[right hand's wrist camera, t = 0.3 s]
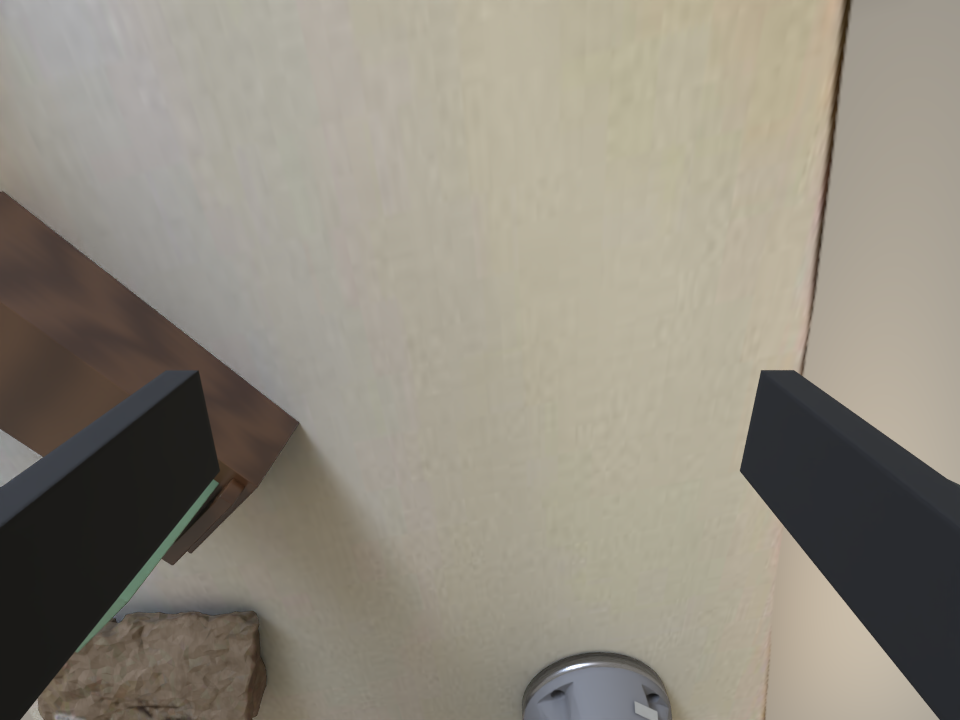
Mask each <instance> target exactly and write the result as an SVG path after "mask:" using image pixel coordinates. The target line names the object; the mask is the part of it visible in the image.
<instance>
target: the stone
mask: <svg viewBox="0 0 960 720" xmlns="http://www.w3.org/2000/svg"><path fill="white" fill-rule="evenodd" d="M258 627H259V621H258V617H257V615H256V613H255V612H254V611H246V612H236V611H235V612H233V613H230V614H221V615H215V616H210V615H207V614H202V613H200V612H187V613H183V612H181V613H178V614H164V613H161V612H157V613H143V612H136V613H134V614H127V615H126V616H125V617H124V619H123V620H122V621H121V622H120V623H117V622H116V619H114V618H112V619H111V620H110V621H109V622H108V623H107V624H106V625H105V626H104V627H103V628H102V629H101V630H100V631H99V632H98V633H97V634H96V635H95V636H94V637H93V638H92V639H91V640H90V641H89V642H88V643H87V644H86V645H85V646H84V647H83V648H82V649H81V650H80V651H79V652H78V653H77V652H74V653H73V655H72V656H71V657H70V658H69V660H68V661H67V662H66V663H65V665H64V666H63V667H62V668H61V670H60V671H59V672H58V673H57V675H56V676H55V677H54V678H53V680H52V681H51V682H50V683H49V685H48V686H47V687H46V688H45V690H44V691H43V692H42V693H41V695H40V696H39V697H38V710H39V712H40V715H41V716H42V718H43V719H44V720H252V718H253V717H255V716H257V714H258V711H259V708H260V703H261V699H262V696H263V693H264V689H265V687H266V678H267V676H266V669H265V666H264V663H263V661H262V660H261V657H260V643H259V632H258Z"/></svg>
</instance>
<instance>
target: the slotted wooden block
mask: <svg viewBox="0 0 960 720" xmlns="http://www.w3.org/2000/svg"><path fill="white" fill-rule="evenodd" d="M166 370H199V374H200V379H201V383H202V388H203V393H204V397H205V402H206V407H207V412H208V416H209V421H210V426H211V430H212V435H213V440H214V445H215V449H216V454H217V459H218V463H219V468H220V472H219V473H218V474H217V475H216V477H215V478H214V480H215V481H217V482H218V483H219V485H218V486H217V487H216V488H215V490H214V491H213V492H212V494H211V495H210V496H209V498H208V499H207V500H206V501H205V503H204V504H203V505H202V507H201V508H200V509H199V511H198V512H197V513H196V514H195V516H194V517H193V518H192V520H191V521H190V522H189V524H188V525H187V526H186V527H185V529H184V530H183V531H182V533H181V534H180V535H179V537H178V538H177V539H176V540H175V542H174V543H173V544H172V546H171V547H170V548H169V550H168V551H167V552H166V553H165V555H164V556H163V557H162V559H163V560H165V561H166V562H168V563H169V564H171V565H174V564H175V563H176V562H177V561H178V560H179V559H180V558H181V557H182V556H183V555H184V554H185V553H186V552H187V551H188V552H189V553H192V552H193V551H194V550H195V549H196V548H197V547H198V546H199V545H200V544H201V543H202V542H203V541H204V540H205V539H206V538H207V537H208V536H209V535H210V534H211V533H212V532H213V531H214V530H215V529H216V528H217V527H218V526H219V525H220V524H221V523H222V522H223V521H224V520H225V519H226V518H227V517H228V516H229V515H230V514H231V513H232V512H233V511H234V510H235V509H236V508H237V507H238V506H239V505H240V504H241V503H242V502H243V501H244V500H245V499H246V498H247V497H248V496H249V495H250V494H251V493H252V492H253V491H254V490H255V489H256V488H257V487H258V486H259V484H260V483H261V481H262V480H263V478H264V477H265V475H266V474H267V472H268V470H269V469H270V467H271V466H272V464H273V463H274V461H275V460H276V458H277V457H278V455H279V454H280V452H281V450H282V449H283V447H284V446H285V444H286V443H287V441H288V440H289V438H290V437H291V435H292V433H293V432H294V430H295V429H296V427H297V426H298V424H299V422H298V421H296V420H295V419H294V418H292V417H291V416H290V415H289V414H287V413H286V412H285V411H283V410H282V409H281V408H280V407H278V406H277V405H276V404H275V403H273V402H272V401H271V400H269V399H268V398H267V397H266V396H264V395H263V394H262V393H260V392H259V391H258V390H257V389H255V388H254V387H253V386H251V385H250V384H249V383H248V382H246V381H245V380H244V379H242V378H241V377H240V376H239V375H237V374H236V373H235V372H234V371H232V370H231V369H230V368H228V367H227V366H226V365H225V364H223V363H222V362H221V361H219V360H218V359H217V358H216V357H214V356H213V355H212V354H210V353H209V352H208V351H207V350H205V349H204V348H203V347H202V346H200V345H199V344H198V343H196V342H195V341H194V340H193V339H191V338H190V337H189V336H187V335H186V334H185V333H184V332H182V331H181V330H180V329H178V328H177V327H176V326H175V325H173V324H172V323H171V322H169V321H168V320H167V319H166V318H164V317H163V316H162V315H161V314H159V313H158V312H157V311H155V310H154V309H153V308H152V307H150V306H149V305H148V304H146V303H145V302H144V301H143V300H141V299H140V298H139V297H137V296H136V295H135V294H134V293H132V292H131V291H130V290H128V289H127V288H126V287H125V286H123V285H122V284H121V283H120V282H118V281H117V280H116V279H114V278H113V277H112V276H111V275H109V274H108V273H107V272H105V271H104V270H103V269H102V268H100V267H99V266H98V265H96V264H95V263H94V262H93V261H91V260H90V259H89V258H87V257H86V256H85V255H84V254H82V253H81V252H80V251H79V250H77V249H76V248H75V247H73V246H72V245H71V244H70V243H68V242H67V241H66V240H64V239H63V238H62V237H61V236H59V235H58V234H57V233H55V232H54V231H53V230H52V229H50V228H49V227H48V226H46V225H45V224H44V223H43V222H41V221H40V220H39V219H38V218H36V217H35V216H34V215H32V214H31V213H30V212H29V211H27V210H26V209H25V208H23V207H22V206H21V205H20V204H18V203H17V202H16V201H14V200H13V199H12V198H11V197H9V196H8V195H7V194H5V193H4V192H0V429H1V430H3V431H4V432H6V433H8V434H9V435H11V436H12V437H14V438H15V439H17V440H18V441H20V442H21V443H23V444H24V445H26V446H27V447H29V448H30V449H32V450H33V451H35V452H37V453H38V454H40V455H41V456H43V457H45V456H46V455H47V454H49V453H50V452H52V451H53V450H54V449H56V448H57V447H59V446H60V445H61V444H63V443H64V442H66V441H67V440H69V439H70V438H71V437H73V436H74V435H76V434H77V433H78V432H80V431H81V430H83V429H84V428H85V427H87V426H88V425H90V424H91V423H92V422H94V421H95V420H97V419H98V418H100V417H101V416H102V415H104V414H105V413H107V412H108V411H109V410H111V409H112V408H114V407H115V406H116V405H118V404H119V403H121V402H122V401H123V400H125V399H126V398H128V397H129V396H131V395H132V394H133V393H135V392H136V391H138V390H139V389H140V388H142V387H143V386H145V385H146V384H147V383H149V382H150V381H152V380H153V379H154V378H156V377H157V376H159V375H160V374H162V373H163V372H164V371H166Z"/></svg>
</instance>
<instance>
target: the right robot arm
mask: <svg viewBox="0 0 960 720" xmlns="http://www.w3.org/2000/svg"><path fill="white" fill-rule="evenodd" d="M219 472H220V468H219V463H218V459H217V454H216V449H215V445H214V440H213V435H212V430H211V426H210V421H209V416H208V412H207V407H206V402H205V397H204V393H203V388H202V383H201V379H200V374H199V370H166V371H164V372H163V373H162V374H160V375H159V376H157V377H156V378H154V379H153V380H152V381H150V382H149V383H147V384H146V385H145V386H143V387H142V388H140V389H139V390H138V391H136V392H135V393H133V394H132V395H131V396H129V397H128V398H126V399H125V400H123V401H122V402H121V403H119V404H118V405H116V406H115V407H114V408H112V409H111V410H109V411H108V412H107V413H105V414H104V415H102V416H101V417H100V418H98V419H97V420H95V421H94V422H92V423H91V424H90V425H88V426H87V427H85V428H84V429H83V430H81V431H80V432H78V433H77V434H76V435H74V436H73V437H71V438H70V439H69V440H67V441H66V442H64V443H63V444H61V445H60V446H59V447H57V448H56V449H54V450H53V451H52V452H50V453H49V454H47V455H46V456H45V457H43V458H42V459H40V460H39V461H38V462H36V463H35V464H33V465H32V466H30V467H29V468H28V469H26V470H25V471H23V472H22V473H21V474H19V475H18V476H16V477H15V478H14V479H12V480H11V481H9V482H8V483H6V484H5V485H4V486H2V487H0V720H20V719H21V718H22V717H23V716H24V714H25V713H26V712H27V711H28V709H29V708H30V707H31V706H32V705H33V703H34V702H35V701H36V700H37V698H38V697H39V696H40V695H41V693H42V692H43V691H44V690H45V688H46V687H47V686H48V685H49V683H50V682H51V681H52V680H53V678H54V677H55V676H56V675H57V673H58V672H59V671H60V670H61V668H62V667H63V666H64V665H65V663H66V662H67V661H68V660H69V658H70V657H71V656H72V655H73V653H74V652H75V651H76V650H77V649H78V647H79V646H80V645H81V644H82V642H83V641H84V640H85V639H86V637H87V636H88V635H89V634H90V632H91V631H92V630H93V629H94V627H95V626H96V625H97V624H98V622H99V621H100V620H101V619H102V617H103V616H104V615H105V614H106V612H107V611H108V610H109V609H110V607H111V606H112V605H113V604H114V602H115V601H116V600H117V599H118V597H119V596H120V595H121V594H122V592H123V591H124V590H125V589H126V588H127V586H128V585H129V584H130V583H131V581H132V580H133V579H134V578H135V576H136V575H137V574H138V573H139V571H140V570H141V569H142V568H143V566H144V565H145V564H146V563H147V561H148V560H149V559H150V558H151V556H152V555H153V554H154V553H155V551H156V550H157V549H158V548H159V546H160V545H161V544H162V543H163V541H164V540H165V539H166V538H167V536H168V535H169V534H170V533H171V532H172V530H173V529H174V528H175V527H176V525H177V524H178V523H179V522H180V520H181V519H182V518H183V517H184V515H185V514H186V513H187V512H188V510H189V509H190V508H191V507H192V505H193V504H194V503H195V502H196V500H197V499H198V498H199V497H200V495H201V494H202V493H203V492H204V490H205V489H206V488H207V487H208V485H209V484H210V483H211V482H212V480H213V479H214V478H215V477H216V475H217V474H218V473H219ZM740 472H741V473H742V474H743V475H744V477H745V478H746V479H747V480H748V482H749V483H750V484H751V485H752V487H753V488H754V489H755V490H756V492H757V493H758V494H759V495H760V497H761V498H762V499H763V500H764V502H765V503H766V504H767V505H768V507H769V508H770V509H771V510H772V512H773V513H774V514H775V515H776V517H777V518H778V519H779V520H780V522H781V523H782V524H783V525H784V527H785V528H786V529H787V530H788V531H789V533H790V534H791V535H792V536H793V538H794V539H795V540H796V541H797V543H798V544H799V545H800V546H801V548H802V549H803V550H804V551H805V553H806V554H807V555H808V556H809V558H810V559H811V560H812V561H813V563H814V564H815V565H816V566H817V568H818V569H819V570H820V571H821V573H822V574H823V575H824V576H825V578H826V579H827V580H828V581H829V583H830V584H831V585H832V586H833V588H834V589H835V590H836V591H837V592H838V594H839V595H840V596H841V597H842V599H843V600H844V601H845V602H846V604H847V605H848V606H849V607H850V609H851V610H852V611H853V612H854V614H855V615H856V616H857V617H858V619H859V620H860V621H861V622H862V624H863V625H864V626H865V627H866V629H867V630H868V631H869V632H870V633H871V635H872V636H873V637H874V638H875V640H876V641H877V642H878V644H879V645H880V646H881V647H882V649H883V650H884V651H885V652H886V653H887V655H888V656H889V657H890V658H891V660H892V661H893V662H894V663H895V665H896V666H897V667H898V668H899V670H900V671H901V672H902V673H903V675H904V676H905V677H906V678H907V680H908V681H909V682H910V683H911V685H912V686H913V687H914V688H915V690H916V691H917V692H918V693H919V695H920V696H921V697H922V698H923V700H924V701H925V702H926V703H927V705H928V706H929V707H930V708H931V709H932V711H933V712H934V713H935V714H936V716H937V717H938V718H939V719H940V720H960V485H959V484H957V483H955V482H952V481H950V480H948V479H946V478H945V477H944V476H942V475H941V474H939V473H938V472H937V471H935V470H934V469H932V468H931V467H929V466H928V465H927V464H925V463H924V462H922V461H921V460H920V459H918V458H917V457H915V456H914V455H913V454H911V453H910V452H908V451H907V450H906V449H904V448H903V447H901V446H900V445H898V444H897V443H896V442H894V441H893V440H891V439H890V438H889V437H887V436H886V435H884V434H883V433H882V432H880V431H879V430H877V429H876V428H875V427H873V426H872V425H870V424H869V423H868V422H866V421H865V420H863V419H862V418H860V417H859V416H858V415H856V414H855V413H853V412H852V411H851V410H849V409H848V408H846V407H845V406H844V405H842V404H841V403H839V402H838V401H837V400H835V399H834V398H832V397H831V396H829V395H828V394H827V393H825V392H824V391H822V390H821V389H820V388H818V387H817V386H815V385H814V384H813V383H811V382H810V381H808V380H807V379H806V378H804V377H803V376H801V375H800V374H798V373H797V372H796V371H794V370H761V374H760V379H759V383H758V388H757V393H756V397H755V402H754V407H753V412H752V416H751V421H750V426H749V430H748V435H747V440H746V445H745V449H744V454H743V459H742V463H741V468H740ZM522 714H523V720H672V714H671V706H670V702H669V699H668V696H667V693H666V690H665V687H664V685H663V682H662V681H661V679H660V678H659V676H658V675H657V674H656V673H655V672H654V671H653V670H652V669H651V668H650V667H648V666H647V665H645V664H644V663H642V662H640V661H638V660H636V659H633V658H631V657H627V656H624V655H619V654H613V653H586V654H580V655H575V656H572V657H568V658H565V659H563V660H560V661H558V662H556V663H554V664H552V665H550V666H548V667H547V668H545V669H544V670H542V671H541V672H540V673H539V674H538V675H537V676H536V677H535V678H534V679H533V680H532V681H531V682H530V684H529V685H528V687H527V689H526V691H525V693H524V696H523V700H522Z"/></svg>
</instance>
